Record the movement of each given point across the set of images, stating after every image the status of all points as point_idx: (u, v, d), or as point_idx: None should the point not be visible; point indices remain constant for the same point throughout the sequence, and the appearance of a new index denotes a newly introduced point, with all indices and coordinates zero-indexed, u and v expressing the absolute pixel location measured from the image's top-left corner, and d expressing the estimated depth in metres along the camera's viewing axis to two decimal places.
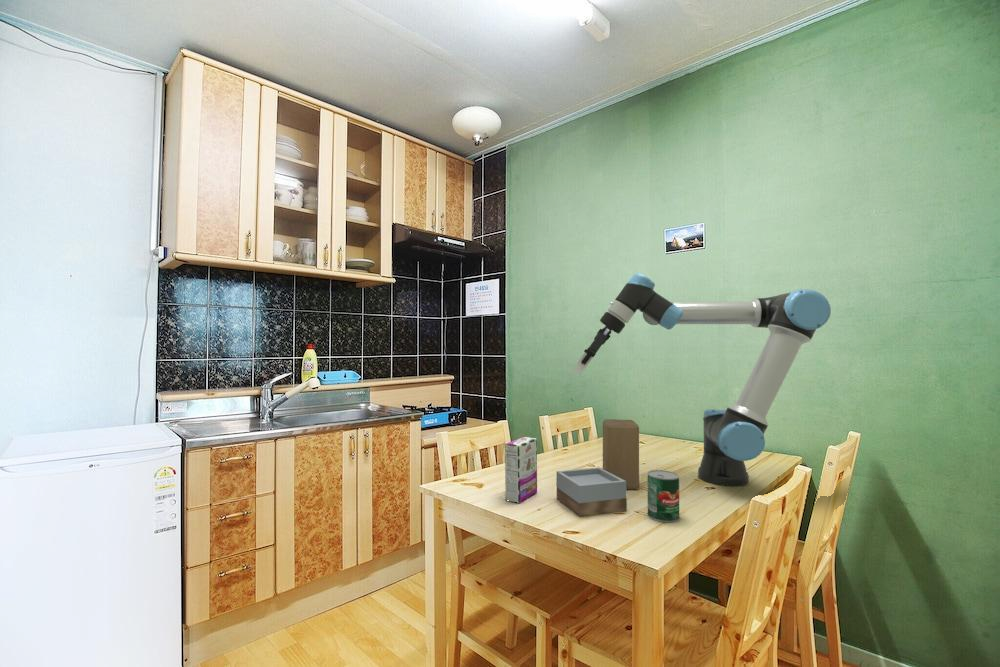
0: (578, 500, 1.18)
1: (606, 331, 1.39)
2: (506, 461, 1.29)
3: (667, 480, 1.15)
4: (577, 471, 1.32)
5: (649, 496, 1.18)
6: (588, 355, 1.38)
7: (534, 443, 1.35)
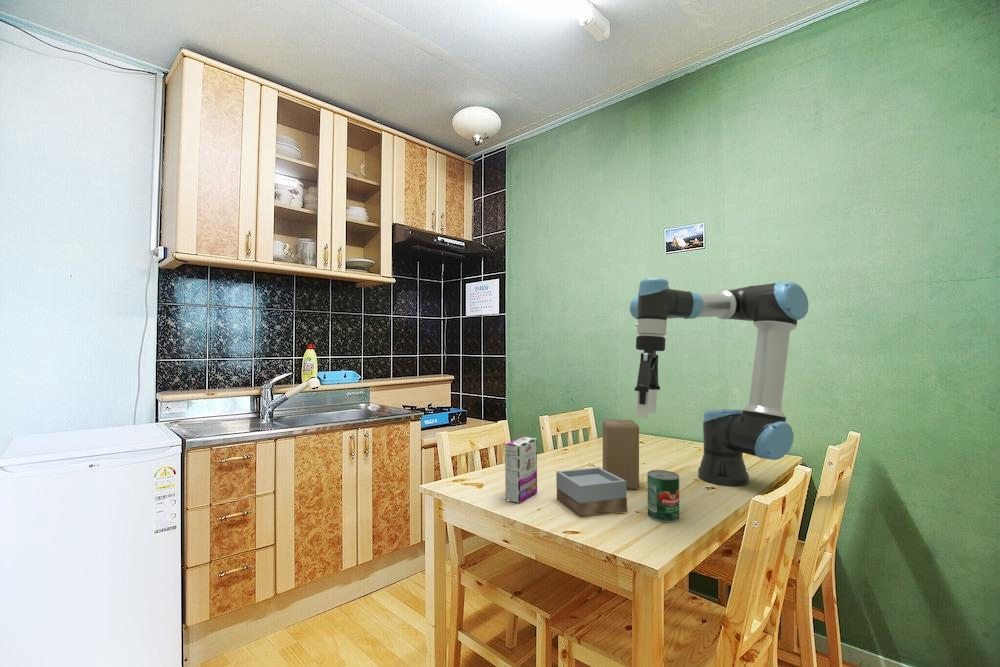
0: (579, 500, 1.18)
1: (645, 356, 1.16)
2: (506, 461, 1.29)
3: (667, 480, 1.15)
4: (577, 471, 1.32)
5: (649, 496, 1.18)
6: (642, 392, 1.15)
7: (534, 443, 1.35)
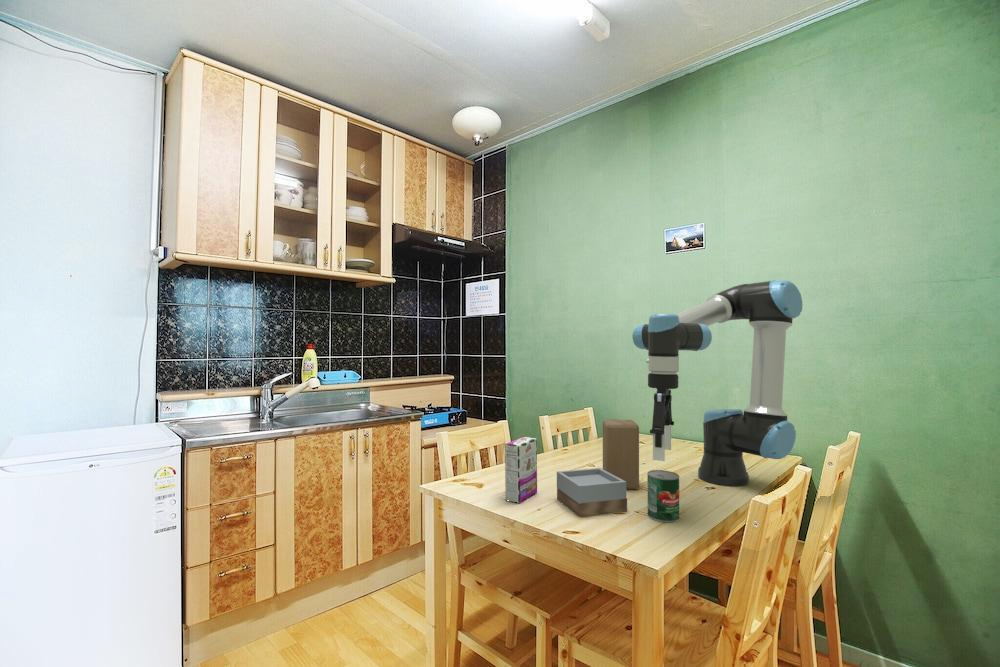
0: (578, 500, 1.18)
1: (659, 397, 1.13)
2: (506, 461, 1.29)
3: (667, 480, 1.15)
4: (577, 471, 1.32)
5: (649, 496, 1.18)
6: (657, 435, 1.11)
7: (534, 443, 1.35)
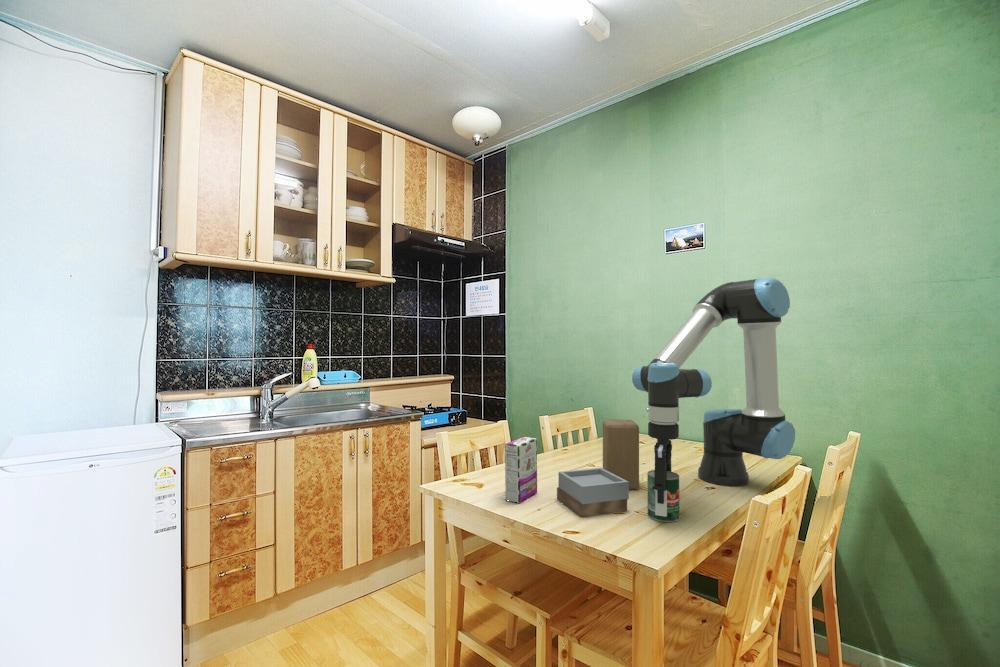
0: (581, 501, 1.18)
1: (659, 453, 1.13)
2: (506, 461, 1.29)
3: (667, 480, 1.15)
4: (579, 471, 1.32)
5: (649, 496, 1.18)
6: (659, 491, 1.13)
7: (534, 443, 1.35)
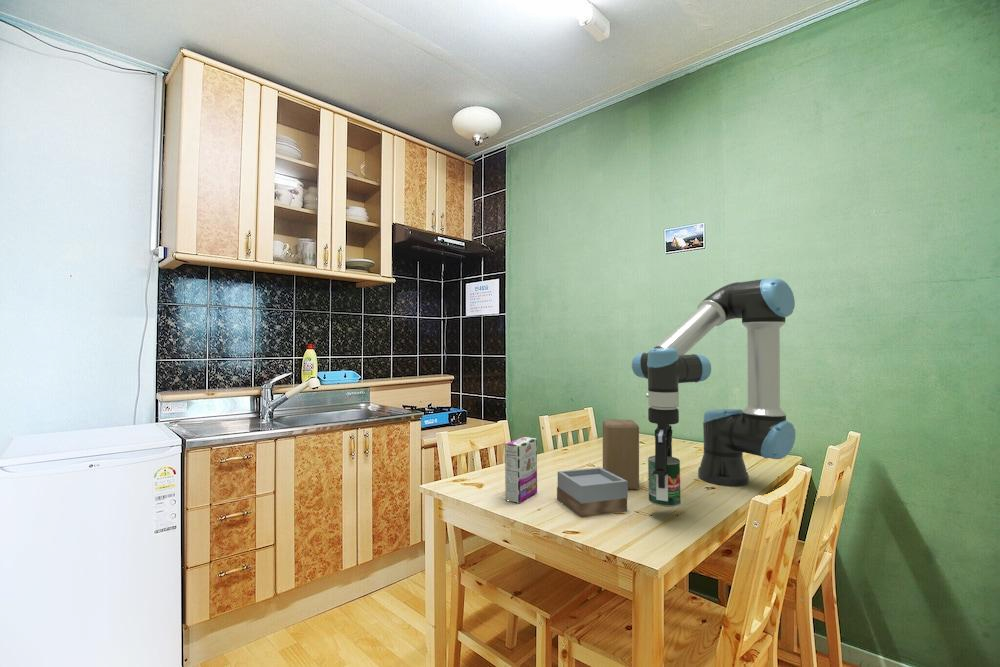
0: (580, 500, 1.18)
1: (659, 438, 1.13)
2: (506, 461, 1.29)
3: (668, 465, 1.15)
4: (578, 471, 1.32)
5: (650, 481, 1.18)
6: (660, 476, 1.14)
7: (534, 443, 1.35)
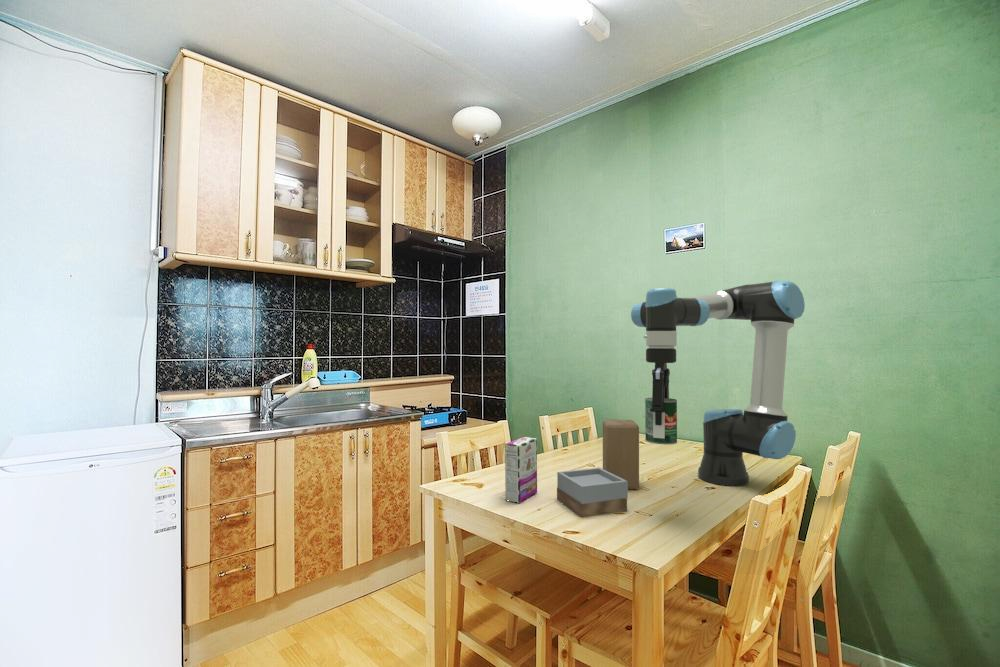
0: (581, 501, 1.18)
1: (657, 375, 1.13)
2: (506, 461, 1.29)
3: (665, 402, 1.15)
4: (578, 471, 1.32)
5: (647, 421, 1.18)
6: (657, 413, 1.14)
7: (534, 443, 1.35)
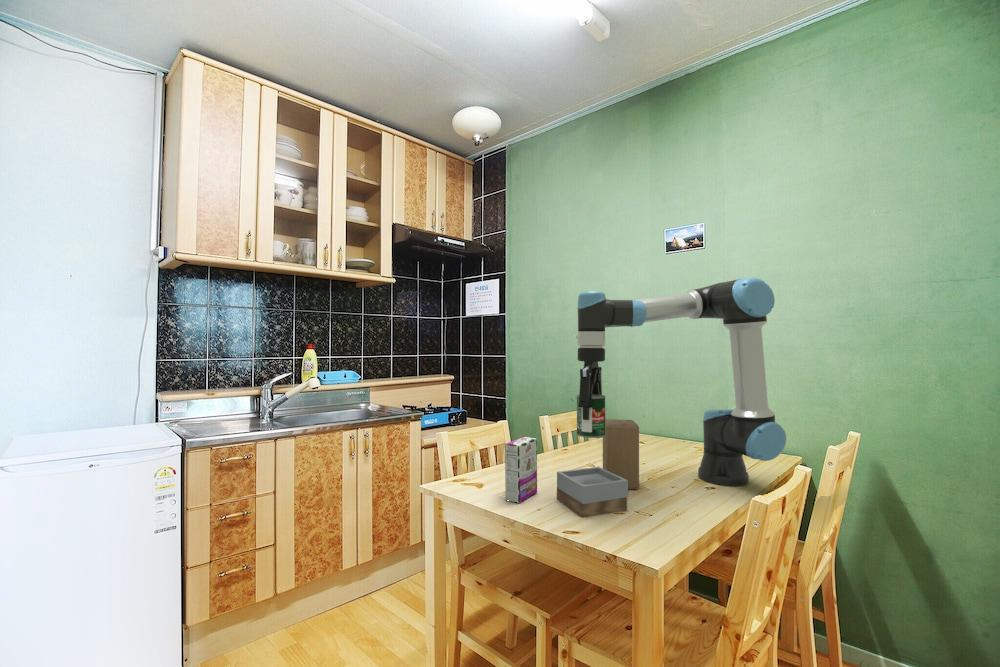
0: (581, 501, 1.18)
1: (584, 373, 1.21)
2: (506, 461, 1.29)
3: (592, 398, 1.23)
4: (577, 471, 1.32)
5: (577, 415, 1.26)
6: (584, 408, 1.22)
7: (534, 443, 1.35)
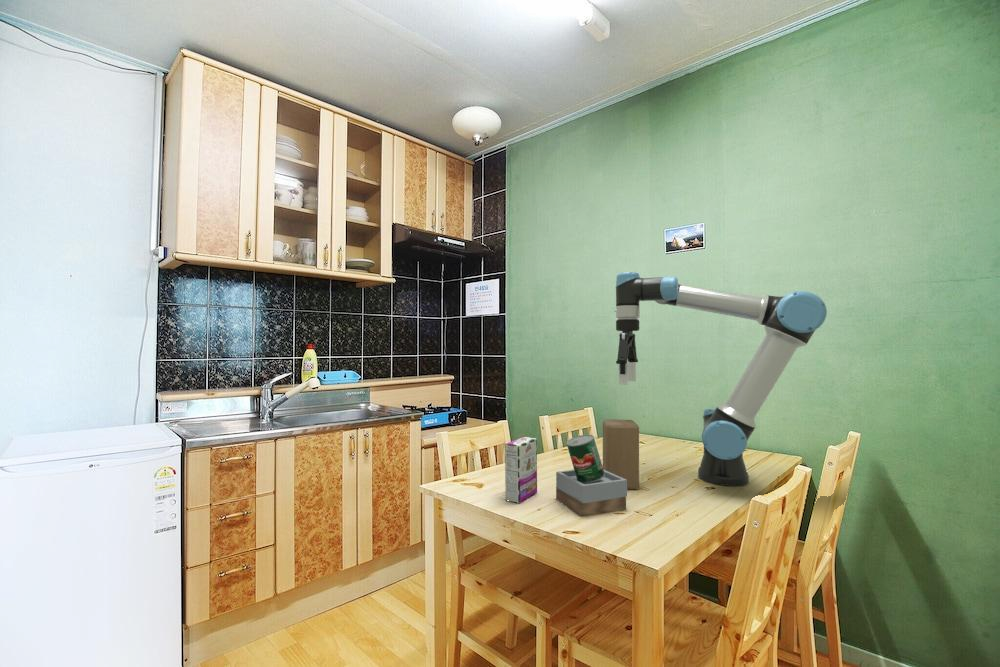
0: (582, 500, 1.19)
1: (623, 335, 1.46)
2: (506, 461, 1.29)
3: (571, 446, 1.24)
4: None
5: None
6: (621, 364, 1.44)
7: (534, 443, 1.35)
